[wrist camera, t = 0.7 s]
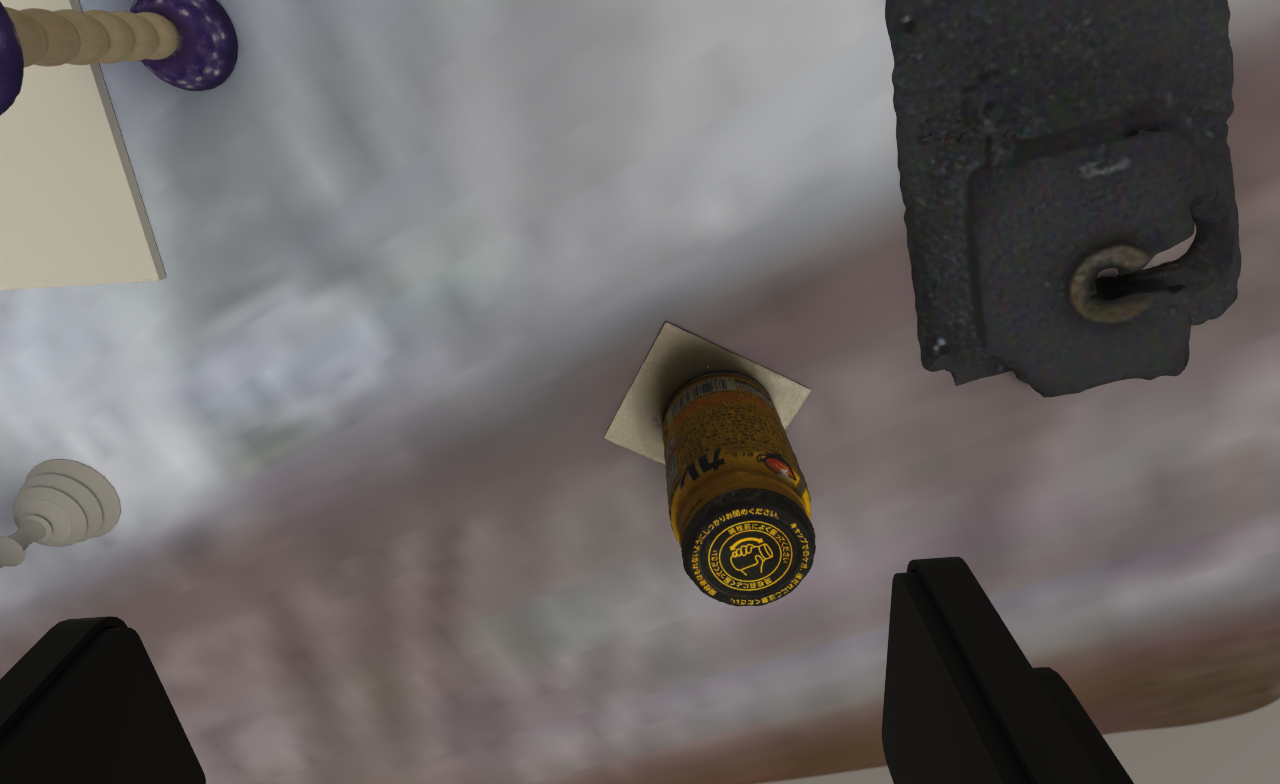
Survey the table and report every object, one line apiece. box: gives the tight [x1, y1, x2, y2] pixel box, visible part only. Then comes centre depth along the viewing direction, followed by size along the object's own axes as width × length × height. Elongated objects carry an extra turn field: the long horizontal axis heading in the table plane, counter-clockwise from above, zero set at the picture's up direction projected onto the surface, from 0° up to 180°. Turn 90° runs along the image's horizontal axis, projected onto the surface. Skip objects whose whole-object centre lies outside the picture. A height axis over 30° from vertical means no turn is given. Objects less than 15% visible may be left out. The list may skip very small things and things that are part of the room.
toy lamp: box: [0, 0, 237, 115], centre depth 25 cm, size 5×5×17 cm
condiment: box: [604, 322, 816, 606], centre depth 34 cm, size 7×8×12 cm
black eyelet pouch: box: [885, 0, 1241, 397], centre depth 33 cm, size 15×22×5 cm
